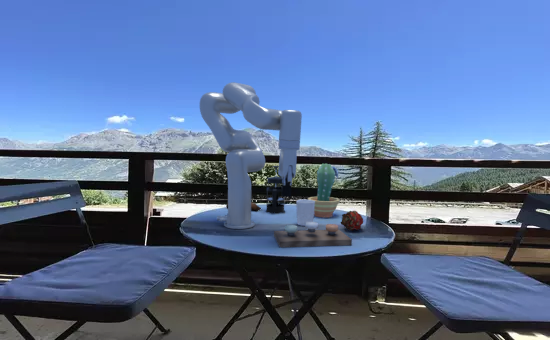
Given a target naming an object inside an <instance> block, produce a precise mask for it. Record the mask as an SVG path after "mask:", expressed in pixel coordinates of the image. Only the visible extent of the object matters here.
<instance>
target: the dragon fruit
mask: <svg viewBox="0 0 550 340" xmlns="http://www.w3.org/2000/svg"><path fill="white" fill-rule="evenodd" d="M341 216H342V217H341V221H340V225H342V226H343V227H344V228H346V230H348V231H350V232H353V231H354V230H356V231H358V230H359V231H360V230H361V228H362V225H363V223H364V218H363V217H362V215H361V214H360V213H359V212H358V211H357V210H349V211H347V212H346V213H343V214H342V215H341Z"/></svg>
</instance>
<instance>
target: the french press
mask: <svg viewBox="0 0 550 340" xmlns="http://www.w3.org/2000/svg"><path fill="white" fill-rule="evenodd" d="M271 168H274V170H275V171H277V170H278V168H279V165H273V166H271ZM266 179H267V183H268V184H275V186H268V187H266V200H267V202H270V203H266V210H265V212H266V213H269V214H283V213H285V203H279V202H284V201H285V198H284V197H283V198H282V197H279V193H280V192H281V193H282V186H277V185H278V184H282V181H283V178H282V177H281V176H273V177H267V178H266ZM268 192H270V193H272V195H271V197H268ZM271 202H272V203H271Z"/></svg>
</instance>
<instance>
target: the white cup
mask: <svg viewBox="0 0 550 340" xmlns="http://www.w3.org/2000/svg"><path fill="white" fill-rule="evenodd" d="M295 202H296V205H295V206H296V224H297V225H298V226H301V227H305V226H306V222H314V217H315V215H314V208H315V201H313V200H308V199H298V200H296V201H295Z"/></svg>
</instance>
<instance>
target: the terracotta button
mask: <svg viewBox="0 0 550 340" xmlns="http://www.w3.org/2000/svg"><path fill="white" fill-rule="evenodd" d="M338 229H339V225H338V224H335V223H328V224H325V230H327V231H328V234H330V235H335V232H336V231H338Z"/></svg>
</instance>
